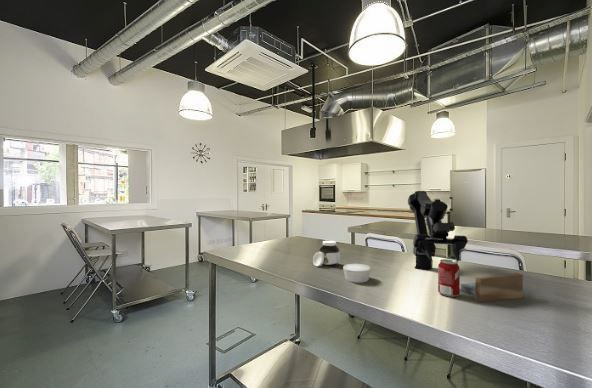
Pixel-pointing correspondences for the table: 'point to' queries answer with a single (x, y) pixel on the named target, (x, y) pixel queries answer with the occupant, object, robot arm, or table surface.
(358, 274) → the ramekin
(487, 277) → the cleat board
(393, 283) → the table surface
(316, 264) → the spread jar
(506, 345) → the table surface
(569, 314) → the table surface
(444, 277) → the soda can
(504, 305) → the table surface
